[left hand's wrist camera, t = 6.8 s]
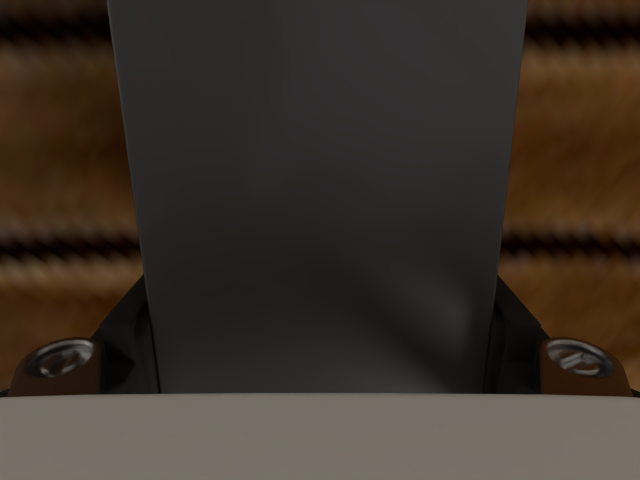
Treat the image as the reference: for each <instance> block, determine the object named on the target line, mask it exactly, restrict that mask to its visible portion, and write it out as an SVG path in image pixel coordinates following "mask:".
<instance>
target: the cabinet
mask: <svg viewBox="0 0 640 480" xmlns="http://www.w3.org/2000/svg"><path fill="white" fill-rule="evenodd" d="M106 1H107V8H108V16H109V23H110V30H111V38H112V45H113V52H114V59H115V67H116V74H117V81H118V89H119V96H120V103H121V110H122V118H123V125H124V132H125V140H126V147H127V154H128V162H129V169H130V176H131V183H132V191H133V198H134V205H135V213H136V220H137V227H138V234H139V242H140V249H141V256H142V264H143V271H144V278H145V286H146V293H147V300H148V307H149V315H150V322H151V329H152V337H153V344H154V351H155V358H156V366H157V373H158V380H159V388H160V394H204V393H424V394H483V392H484V383H485V375H486V367H487V359H488V351H489V343H490V335H491V326H492V319H493V310H494V301H495V292H496V283H497V274H498V265H499V256H500V247H501V238H502V229H503V220H504V211H505V202H506V193H507V184H508V176H509V167H510V158H511V149H512V140H513V131H514V122H515V113H516V104H517V95H518V86H519V77H520V68H521V59H522V50H523V41H524V32H525V23H526V15H527V6H528V0H106Z"/></svg>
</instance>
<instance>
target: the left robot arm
mask: <svg viewBox="0 0 640 480" xmlns="http://www.w3.org/2000/svg"><path fill="white" fill-rule="evenodd" d="M540 326H541V324H540V323H539V322H538V321H537V320H536V319H535V317H534V316H533V315H532V314H531V313H530V312H529V310H528V309H527V308H526V307H525V306H524V305H523V304H522V302H521V301H520V300H519V299H518V298H517V297H516V295H515V294H514V293H513V292H512V291H511V290H510V289H509V287H508V286H507V285H506V284H505V283H504V282H503V280H502V279H501V278H500V277H499V276H498V275H497V283H496V292H495V301H494V310H493V319H492V326H491V335H490V343H489V351H488V359H487V367H486V375H485V383H484V392H483V394H424V393H204V394H160V388H159V380H158V373H157V366H156V358H155V351H154V344H153V337H152V329H151V322H150V315H149V307H148V300H147V293H146V286H145V278H144V274H143V275H142V276H141V278H140V279H139V280H138V281H137V282H136V283H135V285H134V286H133V287H132V288H131V289H130V290H129V291H128V293H127V294H126V295H125V296H124V297H123V298H122V300H121V301H120V302H119V303H118V304H117V305H116V306H115V308H114V309H113V310H112V311H111V312H110V313H109V315H108V316H107V317H106V318H105V319H104V320H103V321H102V323H101V324H100V327H99V329H98V330H97V331H96V332H95V333H94V334H93V336H92V337H91V338H86V337H73V338H66V339H61V340H58V341H54V342H51V343H48V344H46V345H44V346H41V347H39V348H37V349H36V350H34V351H32V352H31V353H29V354H28V355H27V356H26V357H25V358H23V359H22V360H21V361H20V363H19V365H18V366H17V368H16V371H15V374H14V377H13V380H12V383H11V386H10V389H7V390H5V391H3V392H0V480H640V392H638V391H635V390H633V389H630V386H629V383H628V380H627V377H626V374H625V371H624V368H623V366H622V365H621V363H620V361H619V360H618V359H617V358H615V357H614V356H613V355H612V354H611V353H609V352H608V351H606V350H604V349H603V348H601V347H599V346H596V345H594V344H592V343H589V342H586V341H582V340H579V339H574V338H567V337H554V338H550V337H549V336H548V335H547V334H546V333H545V332H544V330H543V329H542V328H541V327H540Z"/></svg>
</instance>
